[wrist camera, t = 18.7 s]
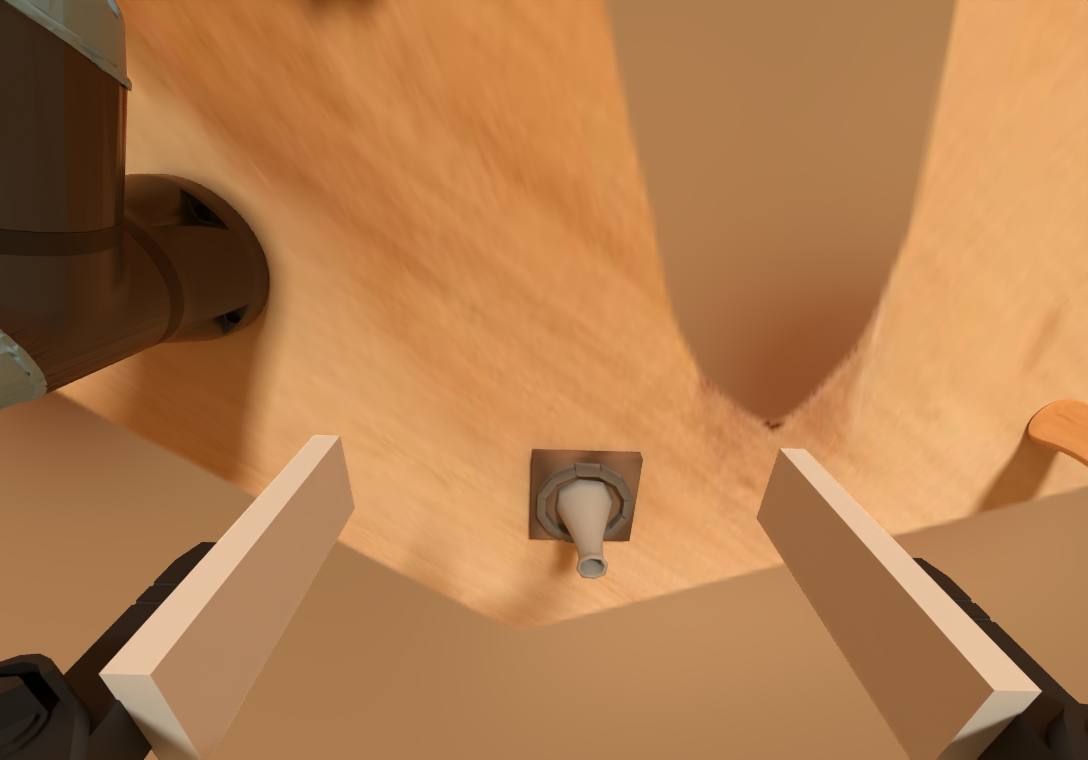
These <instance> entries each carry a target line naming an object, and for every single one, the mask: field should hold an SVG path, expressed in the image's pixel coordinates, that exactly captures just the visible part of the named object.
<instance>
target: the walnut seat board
mask: <svg viewBox="0 0 1088 760" xmlns="http://www.w3.org/2000/svg"><path fill="white" fill-rule="evenodd" d="M642 462H643V459H642V456H641V453H640V452H612V451H577V450H542V449H533V456H532V490H531V524H530V539H561V540H564V541H566V542H570V543H574V540H573V538H572V536H571V535H570V533H569V531H568V529H567V527H566V525H565V523H564V522H563V520H562V518H561V517H560V515H559V513H558V511H557V510H556V508H555V504H556V499H557V494H558V489H559V488H561V487H564V486H566V485H568V484H570V483H573V482H575V481H577V480H588V481H598V482H603V483H604V485H605V486H606V488H607V489H608V491H609V493H610V494H611V496H612V497H613V501H612V505H611V508H610V512H609V516H608V520H607V523H606V527H605V532H604V536H603V541H629V540H630V534H631V528H632V522H633V516H634V510H635V504H636V498H637V492H638V486H639V480H640V474H641V468H642Z"/></svg>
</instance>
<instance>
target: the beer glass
mask: <svg viewBox="0 0 1088 760" xmlns="http://www.w3.org/2000/svg"><path fill="white" fill-rule="evenodd" d="M1028 436H1029V438H1030V439H1031V440H1032V441H1034V442H1036V443H1038V444H1040V445H1043V446H1046V447H1049V448H1052V449H1054V450H1057V451H1060V452H1062V453H1064V454H1066V455H1068V456H1070V457H1072V458H1074V459H1075V460H1077V461H1079V462H1080V463H1082V464H1083V465H1084V466H1086V467H1087V468H1088V405H1087V404H1086V403H1084V402H1082V401H1080V400H1076V399H1063V400H1059V401H1056V402H1053V403H1051V404H1049V405H1047V406H1046V407H1044V408H1043V409H1041V410H1040V411H1039V412H1038V413H1037V414H1036V415H1035V416H1034V417H1033V418H1032V420H1031V421H1030V423H1029V426H1028Z"/></svg>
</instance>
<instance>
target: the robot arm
mask: <svg viewBox="0 0 1088 760" xmlns="http://www.w3.org/2000/svg"><path fill="white" fill-rule="evenodd" d="M128 90H129V91H131V90H132V84H131V81H130V79H129V78H128V77H127V69H126V43H125V23H124V18H123V15H122V13H121V10H120V8H119V6H118V4H117V3H116V1H115V0H0V410H1V409H4V408H7V407H9V406H12V405H15V404H18V403H23V402H29V401H32V400H36V399H38V398H40V397H41V396H43V395H45V394H47V393H49V392H51V391H54V390H56V389H58V388H60V387H63V386H65V385H67V384H69V383H72V382H74V381H76V380H78V379H80V378H83V377H85V376H87V375H89V374H92V373H94V372H96V371H98V370H101V369H103V368H105V367H107V366H109V365H112V364H114V363H116V362H118V361H121V360H123V359H125V358H127V357H130V356H132V355H134V354H136V353H139V352H141V351H143V350H145V349H147V348H150V347H152V346H154V345H157V344H159V343H175V342H193V341H208V340H213V339H218V338H221V337H224V336H227V335H229V334H231V333H233V332H235V331H238V330H240V329H242V328H243V327H245V326H247V325H248V324H250V323H251V322H252V321H253V320H254V319H255V318H256V317H257V316H258V315H259V313H260V312H261V310H262V308H263V306H264V304H265V302H266V298H267V294H268V288H269V275H268V268H267V263H266V260H265V256H264V254H263V251H262V249H261V246H260V244H259V242H258V240H257V238H256V237H255V235H254V233H253V232H252V230H251V229H250V227H249V226H248V224H247V223H246V222H245V220H244V219H243V218H242V217H241V216H240V215H239V214H238V213H237V211H236V210H235V209H234V208H232V207H231V206H230V205H229V204H228V203H227V202H226V201H225V200H223V199H222V198H221V197H219V196H218V195H216V194H215V193H214V192H212V191H210V190H209V189H207V188H205V187H203V186H201V185H199V184H197V183H195V182H193V181H190V180H187V179H184V178H181V177H177V176H172V175H165V174H130V175H125V158H126V124H127V91H128ZM354 508H355V506H354V501H353V496H352V491H351V486H350V481H349V476H348V471H347V466H346V462H345V457H344V452H343V447H342V442H341V437H340V436H334V435H314V436H313V437H312V438H311V439H310V440H309V441H308V442H307V443H306V444H305V446H304V447H303V448H302V449H301V450H300V451H299V452H298V453H297V454H296V456H295V457H294V458H293V459H292V460H291V461H290V462H289V463H288V464H287V466H286V467H285V468H284V469H283V470H282V471H281V472H280V473H279V474H278V476H277V477H276V478H275V479H274V480H273V481H272V482H271V483H270V484H269V486H268V487H267V488H266V489H265V490H264V491H263V492H262V493H261V494H260V495H259V497H258V498H257V499H256V500H255V501H254V502H253V503H252V504H251V506H250V507H249V508H248V509H247V510H246V511H245V512H244V513H243V514H242V515H241V517H240V518H239V519H238V520H237V521H236V522H235V523H234V524H233V526H232V527H231V528H230V529H229V530H228V531H227V532H226V533H225V534H224V535H223V537H222V538H221V539H220V540H219V541H218V542H201V543H200V544H198V545H197V546H195V547H194V548H192V549H191V550H190V551H188V552H187V553H185V554H184V555H182V556H181V557H179V558H178V559H176V560H175V561H174V562H173V563H172V564H171V565H170V566H169V567H168V568H167V569H166V570H165V571H164V572H163V573H162V574H161V575H160V576H159V577H158V578H157V579H156V580H155V582H154V585H153V586H150V587H149V588H148V589H147V590H146V591H145V592H144V593H143V594H142V595H141V596H140V597H139V598H138V599H137V600H136V604H135V605H131V606H130V607H129V608H128V609H127V610H126V611H125V612H124V613H123V615H122V616H121V617H120V618H119V619H118V620H117V621H116V622H115V623H114V624H113V625H112V626H111V627H110V628H109V629H108V630H107V631H106V632H105V633H104V634H103V635H102V636H101V637H100V638H99V639H98V640H97V641H96V642H95V643H94V644H93V645H92V646H91V647H90V648H89V650H88V651H87V652H86V653H85V654H84V655H83V656H82V657H81V658H80V659H79V660H78V661H77V662H76V663H75V664H74V665H73V666H72V667H71V668H70V669H69V670H68V671H67V672H66V673H65V674H64V675H63V674H62V673H61V672H60V670H59V669H58V668H57V666H56V665H55V664H54V662H53V661H52V660H51V659H50V658H48V657H46V656H44V655H41V654H29V655H19V656H16V657H13V658H10V659H7V660H4V661H1V662H0V760H144V759H145V757H146V756H147V754H148V753H149V751H150V750H152V751H153V753H154V754H155V755H156V757H157V758H158V760H210V759H211V757H212V755H213V754H214V752H215V750H216V748H217V747H218V745H219V743H220V741H221V740H222V738H223V736H224V734H225V733H226V731H227V729H228V727H229V726H230V724H231V722H232V721H233V719H234V717H235V715H236V714H237V712H238V710H239V708H240V707H241V705H242V703H243V702H244V700H245V698H246V696H247V695H248V693H249V691H250V689H251V688H252V686H253V684H254V682H255V681H256V679H257V677H258V675H259V674H260V672H261V670H262V668H263V667H264V665H265V663H266V661H267V660H268V658H269V656H270V655H271V652H272V651H273V649H274V648H275V646H276V644H277V642H278V640H279V639H280V637H281V635H282V633H283V632H284V630H285V628H286V627H287V625H288V623H289V622H290V620H291V618H292V616H293V615H294V613H295V611H296V609H297V608H298V606H299V604H300V602H301V601H302V599H303V597H304V595H305V594H306V592H307V590H308V588H309V587H310V585H311V583H312V582H313V580H314V578H315V576H316V575H317V573H318V571H319V569H320V568H321V566H322V564H323V562H324V561H325V559H326V557H327V555H328V554H329V552H330V550H331V548H332V547H333V545H334V543H335V542H336V540H337V538H338V536H339V535H340V533H341V531H342V529H343V528H344V526H345V524H346V522H347V521H348V519H349V517H350V515H351V514H352V512H353V510H354ZM757 520H758V521H759V523H760V524H761V526H762V527H763V529H764V531H765V532H766V534H767V535H768V537H769V538H770V540H771V542H772V543H773V545H774V546H775V548H776V549H777V551H778V553H779V554H780V556H781V557H782V559H783V560H784V562H785V564H786V565H787V567H788V568H789V570H790V572H791V573H792V575H793V576H794V578H795V579H796V581H797V582H798V584H799V585H800V587H801V589H802V590H803V592H804V593H805V595H806V597H807V598H808V600H809V601H810V603H811V605H812V606H813V608H814V609H815V611H816V612H817V614H818V616H819V617H820V619H821V620H822V622H823V623H824V625H825V627H826V628H827V630H828V631H829V633H830V634H831V636H832V638H833V639H834V641H835V642H836V644H837V646H838V647H839V649H840V650H841V652H842V653H843V655H844V657H845V658H846V660H847V661H848V663H849V664H850V666H851V668H852V669H853V671H854V672H855V674H856V676H857V677H858V678H859V680H860V682H861V683H862V685H863V687H864V688H865V690H866V691H867V693H868V694H869V696H870V698H871V699H872V701H873V702H874V704H875V705H876V707H877V709H878V710H879V712H880V713H881V715H882V716H883V718H884V720H885V721H886V723H887V724H888V726H889V727H890V729H891V731H892V732H893V734H894V735H895V737H896V739H897V740H898V741H899V743H900V745H901V746H902V748H903V750H904V751H905V752H906V754H907V756H908V757H909V759H910V760H1088V704H1080V703H1078V702H1077V701H1076V700H1075V699H1074V698H1073V697H1072V696H1070V695H1069V694H1068V693H1067V692H1066V691H1065V690H1064V689H1063V688H1062V687H1061V686H1060V685H1059V684H1058V683H1057V682H1056V681H1055V680H1054V679H1053V678H1052V677H1051V676H1050V675H1049V674H1048V673H1047V672H1046V671H1045V670H1044V669H1043V668H1042V667H1040V665H1039V664H1038V663H1037V662H1036V661H1034V660H1033V659H1032V658H1031V657H1030V656H1029V655H1028V654H1027V653H1026V652H1025V651H1024V650H1023V649H1022V648H1021V647H1020V646H1019V645H1018V644H1017V643H1016V642H1015V641H1014V640H1013V639H1012V638H1011V637H1010V636H1009V635H1008V634H1007V633H1006V632H1005V631H1004V630H1003V629H1002V628H1001V627H1000V626H999V625H998V624H997V623H995V622H992V621H991V620H990V617H989V616H988V615H987V614H986V613H985V612H984V611H983V610H982V609H981V608H980V607H979V606H978V605H977V604H976V603H972V602H971V598H970V597H969V596H968V595H967V594H966V593H965V592H964V591H963V590H962V589H960V587H959V586H958V585H956V583H954V582H953V581H952V580H951V579H950V578H949V577H948V576H947V575H945V574H943V573H942V572H941V571H939V570H938V569H936V568H935V567H933V566H932V565H931V564H929V563H928V562H926V561H925V560H923V559H922V558H911V557H910V556H909V555H908V554H907V553H906V552H905V551H904V550H903V549H902V548H901V547H900V546H899V545H898V544H897V543H896V542H895V541H894V540H893V539H892V537H891V536H890V535H889V534H888V533H887V532H886V531H885V530H884V529H883V528H882V527H881V526H880V525H879V524H878V523H877V522H876V521H875V520H874V519H873V518H872V517H871V516H870V515H869V514H868V513H867V512H866V511H865V510H864V509H863V508H862V507H861V506H860V505H859V504H858V503H857V502H856V501H855V500H854V499H853V498H852V497H851V496H850V495H849V494H848V493H847V491H846V490H845V489H844V488H843V487H842V486H841V485H840V484H839V483H838V482H837V481H836V480H835V479H834V478H833V477H832V476H831V475H830V474H829V473H828V472H827V471H826V470H825V469H824V468H823V467H822V466H821V465H820V464H819V463H818V462H817V461H816V460H815V459H814V458H813V457H812V456H811V455H810V454H809V453H808V452H807V451H806V450H805V449H788V448H780V449H779V452H778V455H777V458H776V461H775V464H774V467H773V470H772V473H771V476H770V479H769V482H768V485H767V488H766V491H765V494H764V497H763V500H762V503H761V506H760V509H759V512H758V515H757Z"/></svg>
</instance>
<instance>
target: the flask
mask: <svg viewBox="0 0 1088 760" xmlns="http://www.w3.org/2000/svg"><path fill="white" fill-rule="evenodd" d="M612 501H613V497H612V496H611V494H610V493H609V491H608V489H607V488H606V486H605V485H604V483H603V482H598V481H588V480H577V481H575V482H573V483H570V484H568V485H566V486H564V487H561V488H559V489H558V494H557V499H556V504H555V508H556V510H557V511H558V513H559V515H560V517H561V518H562V520H563V522H564V523H565V525H566V527H567V529H568V531H569V533H570V535H571V536H572V538H573V540H574V543H575V546H576V549H577V552H578V558H579V560H578V564H577V571H578V572H579V574H580V575H581V576H582V578H592V579H595V578H597V577H600V576H603V575H605V574H606V570H607V567H608V564H607V562H606V561H605V559H604V557H603V536H604V532H605V527H606V523H607V520H608V516H609V512H610V508H611V505H612Z"/></svg>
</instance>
